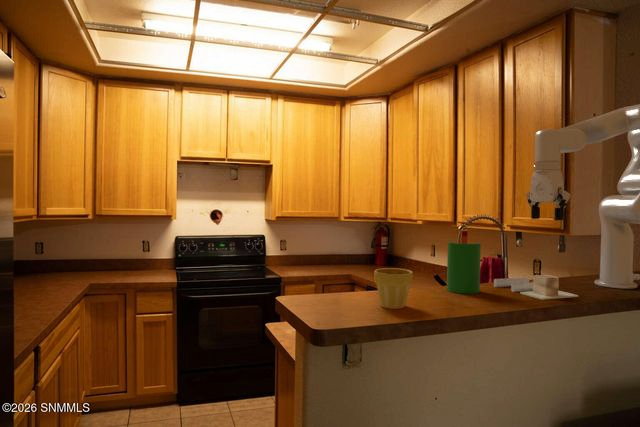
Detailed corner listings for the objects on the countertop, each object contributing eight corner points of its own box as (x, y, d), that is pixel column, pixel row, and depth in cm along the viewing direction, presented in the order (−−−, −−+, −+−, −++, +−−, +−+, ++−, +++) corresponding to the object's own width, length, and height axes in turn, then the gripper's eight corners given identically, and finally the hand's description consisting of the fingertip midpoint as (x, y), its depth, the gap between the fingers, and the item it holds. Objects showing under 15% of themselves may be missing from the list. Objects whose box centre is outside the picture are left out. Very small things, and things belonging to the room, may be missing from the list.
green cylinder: (476, 288, 153) (477, 228, 152) (483, 294, 144) (484, 230, 143) (445, 288, 154) (446, 228, 153) (449, 293, 145) (451, 230, 144)
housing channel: (526, 284, 162) (526, 277, 162) (547, 289, 153) (547, 282, 153) (493, 286, 157) (493, 279, 157) (513, 291, 149) (513, 284, 148)
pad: (554, 291, 150) (554, 289, 150) (578, 296, 142) (578, 295, 142) (520, 293, 146) (520, 292, 146) (542, 299, 137) (542, 298, 137)
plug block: (545, 291, 147) (545, 274, 146) (558, 295, 142) (558, 277, 142) (532, 292, 145) (533, 275, 145) (545, 296, 140) (545, 278, 140)
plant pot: (403, 312, 120) (404, 275, 120) (367, 307, 125) (368, 271, 125) (417, 305, 129) (418, 270, 128) (383, 300, 134) (383, 266, 134)
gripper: (518, 168, 159) (518, 218, 159) (560, 165, 142) (559, 221, 143) (535, 169, 161) (535, 218, 162) (578, 166, 145) (578, 220, 145)
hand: (546, 219), depth 152 cm, fingers open, 9 cm apart
